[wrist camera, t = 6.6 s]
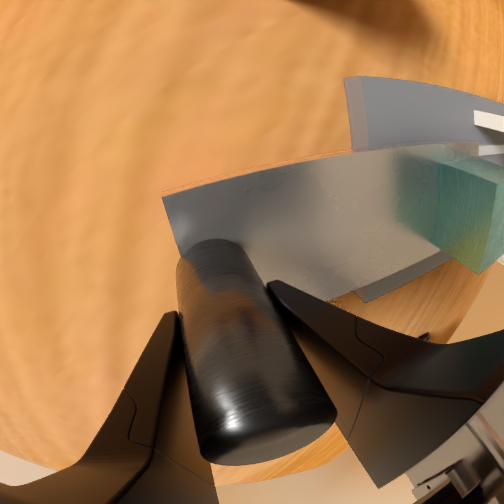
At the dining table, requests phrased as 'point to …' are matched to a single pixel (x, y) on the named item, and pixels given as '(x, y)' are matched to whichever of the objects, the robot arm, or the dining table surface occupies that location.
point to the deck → (416, 137)
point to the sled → (308, 272)
